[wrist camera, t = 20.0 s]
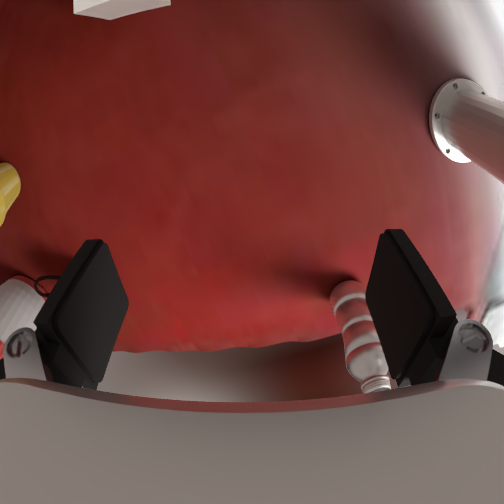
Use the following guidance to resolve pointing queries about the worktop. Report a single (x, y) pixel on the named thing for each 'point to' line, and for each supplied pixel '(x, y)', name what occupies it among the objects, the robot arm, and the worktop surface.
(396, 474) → the robot arm
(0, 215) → the plant pot
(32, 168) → the worktop surface
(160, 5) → the pale grey cube
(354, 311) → the plastic bottle
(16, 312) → the citrus juicer
